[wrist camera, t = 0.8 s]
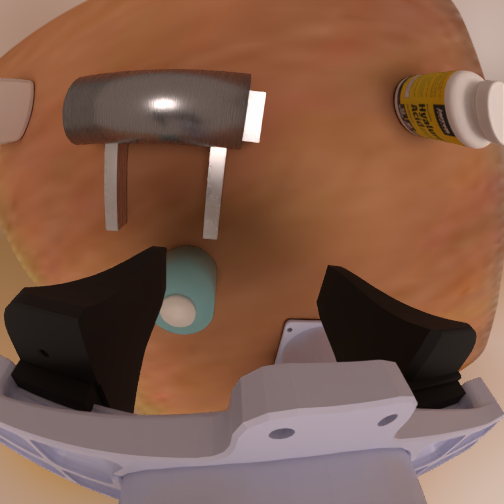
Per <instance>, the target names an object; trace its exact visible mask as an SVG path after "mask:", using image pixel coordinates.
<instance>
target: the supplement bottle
mask: <svg viewBox="0 0 504 504" xmlns="http://www.w3.org/2000/svg"><path fill="white" fill-rule="evenodd" d="M395 109H396V112H397V115H398V117H399V119H400V121H401V123H402V124H403V125H404V127H405V128H406V129H407V130H408V131H410V132H411V133H413V134H414V135H417V136H420V137H425V138H430V139H435V140H440V141H445V142H450V143H454V144H458V145H462V146H466V147H470V148H477V149H478V148H483V147H486V146H487V145H489V144H490V143H491V142H492V143H494V144H499V145H504V84H503V83H502V82H500V81H490V80H483V79H482V78H481V77H480V76H478V75H477V74H475V73H473V72H471V71H462V70H461V71H448V72H438V73H429V74H421V75H414V76H410V77H407V78H405V79H403V80H402V81H401V82H400V83H399V85H398V87H397V89H396V93H395Z"/></svg>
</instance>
